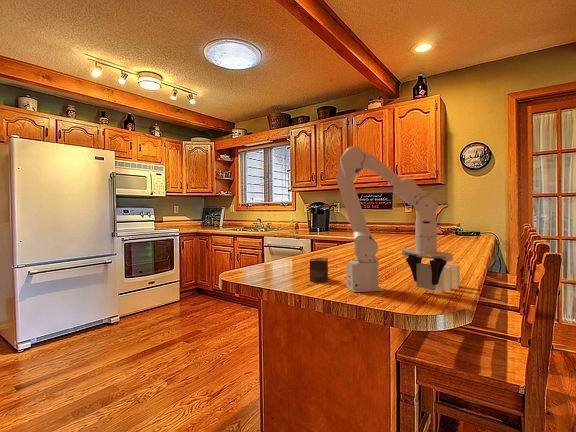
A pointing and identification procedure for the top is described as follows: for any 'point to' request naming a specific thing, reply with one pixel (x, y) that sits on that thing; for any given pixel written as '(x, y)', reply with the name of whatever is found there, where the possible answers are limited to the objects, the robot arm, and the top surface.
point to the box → (319, 269)
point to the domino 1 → (424, 276)
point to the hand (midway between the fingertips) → (425, 282)
